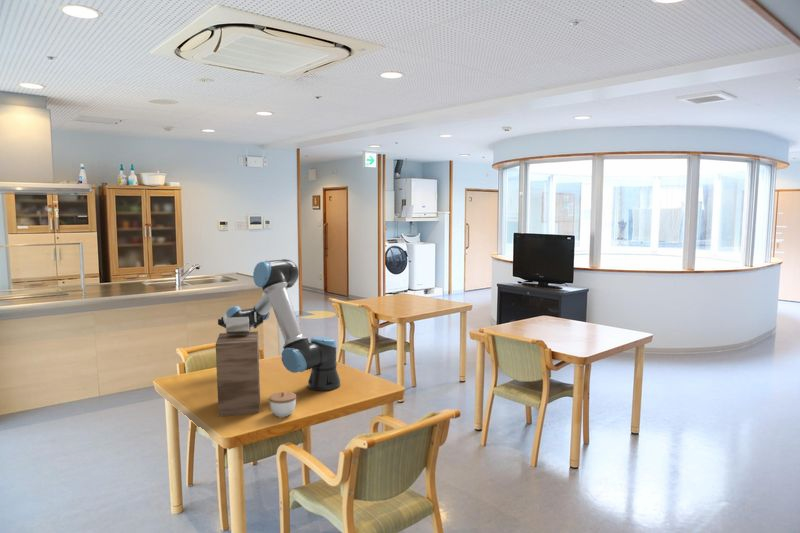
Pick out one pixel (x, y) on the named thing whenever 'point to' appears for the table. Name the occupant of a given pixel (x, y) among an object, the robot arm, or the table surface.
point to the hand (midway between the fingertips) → (239, 315)
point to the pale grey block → (237, 325)
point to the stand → (238, 374)
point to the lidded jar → (282, 403)
